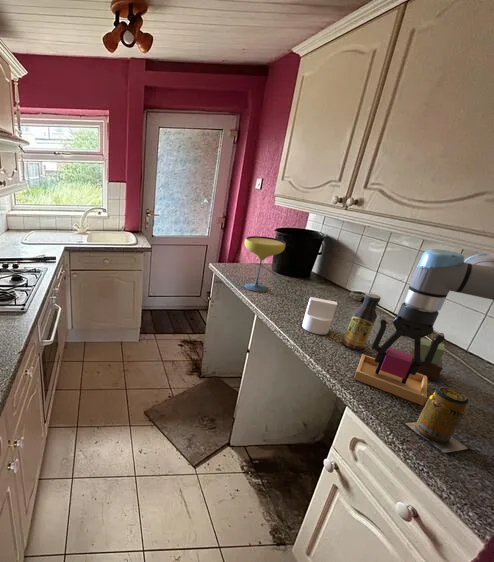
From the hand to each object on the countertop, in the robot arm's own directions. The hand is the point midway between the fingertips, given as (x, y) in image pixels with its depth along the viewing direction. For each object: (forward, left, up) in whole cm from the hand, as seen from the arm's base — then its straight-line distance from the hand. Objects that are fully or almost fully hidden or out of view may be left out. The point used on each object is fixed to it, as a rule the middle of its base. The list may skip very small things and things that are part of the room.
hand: (390, 376), depth 92 cm
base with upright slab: (+24, -20, -2) cm, 31 cm away
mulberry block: (0, 0, +2) cm, 2 cm away
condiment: (-10, +18, -2) cm, 21 cm away
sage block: (-7, -14, +3) cm, 16 cm away
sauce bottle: (+11, -16, -2) cm, 19 cm away
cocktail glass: (+57, -45, -2) cm, 73 cm away
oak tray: (0, 0, -2) cm, 2 cm away
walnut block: (-7, -14, -2) cm, 16 cm away
